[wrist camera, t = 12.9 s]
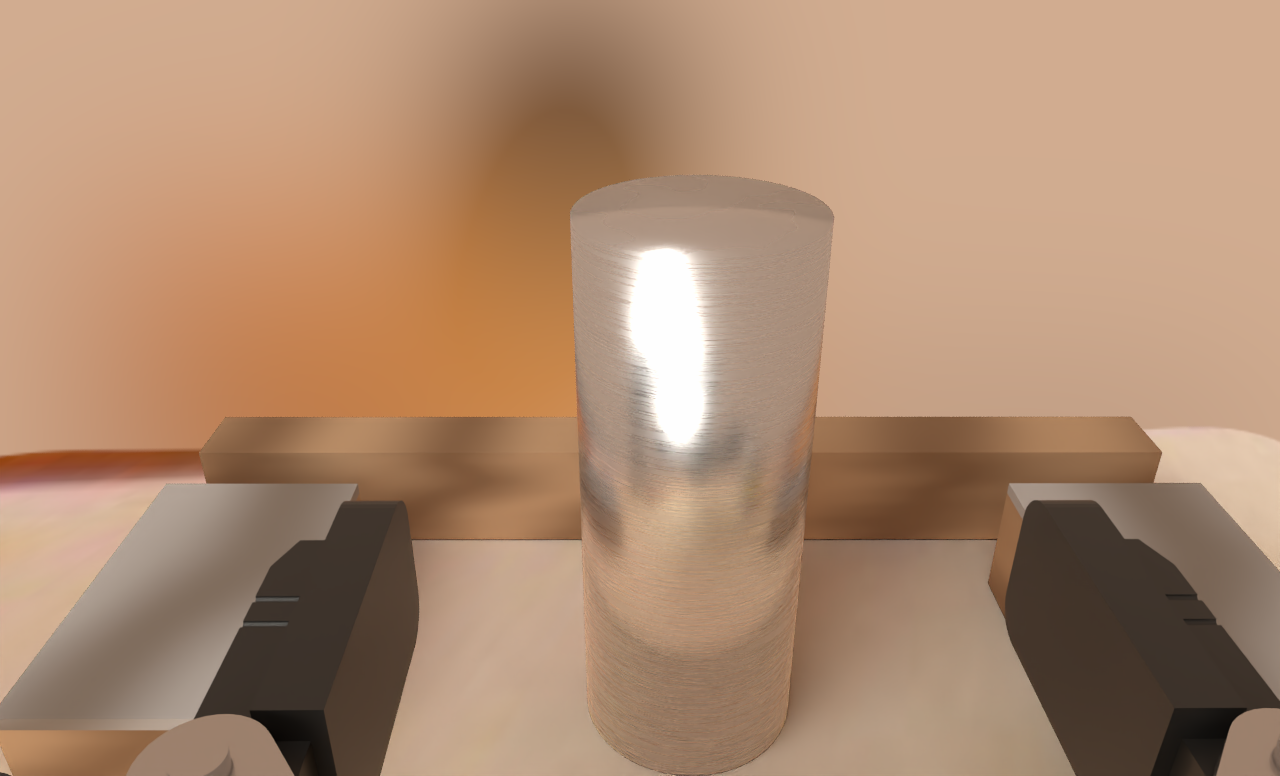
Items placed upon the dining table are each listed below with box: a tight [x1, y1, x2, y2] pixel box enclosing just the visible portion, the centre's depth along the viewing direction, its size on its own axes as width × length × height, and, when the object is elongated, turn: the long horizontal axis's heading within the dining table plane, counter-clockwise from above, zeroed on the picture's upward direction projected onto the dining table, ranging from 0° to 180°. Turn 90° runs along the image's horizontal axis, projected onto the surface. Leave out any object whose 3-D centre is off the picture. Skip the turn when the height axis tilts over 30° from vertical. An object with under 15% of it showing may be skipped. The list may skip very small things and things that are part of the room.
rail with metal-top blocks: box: [0, 417, 1280, 776], centre depth 25 cm, size 27×12×3 cm, turn 90°
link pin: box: [570, 175, 834, 776], centre depth 21 cm, size 5×5×12 cm
